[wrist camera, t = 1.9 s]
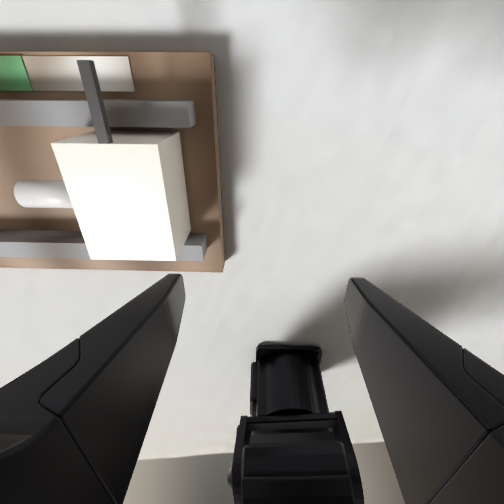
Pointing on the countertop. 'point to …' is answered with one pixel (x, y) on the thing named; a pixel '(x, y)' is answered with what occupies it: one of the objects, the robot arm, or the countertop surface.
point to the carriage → (118, 186)
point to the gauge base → (120, 119)
